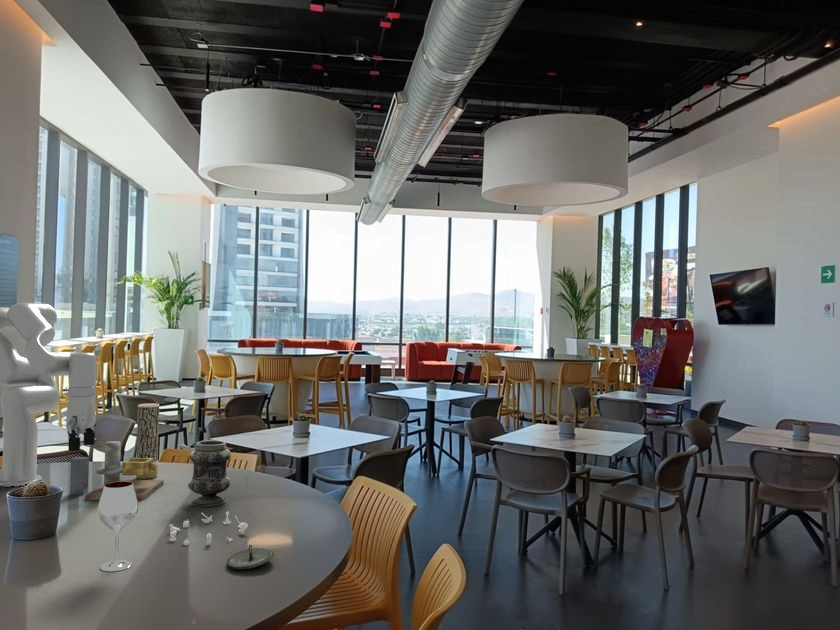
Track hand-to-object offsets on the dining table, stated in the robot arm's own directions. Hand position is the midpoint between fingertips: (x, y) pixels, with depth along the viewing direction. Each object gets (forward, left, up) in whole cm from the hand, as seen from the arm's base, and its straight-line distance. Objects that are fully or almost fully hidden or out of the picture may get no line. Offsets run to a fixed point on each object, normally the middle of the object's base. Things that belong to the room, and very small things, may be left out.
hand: (81, 447), depth 197 cm
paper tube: (+12, +21, -14) cm, 29 cm away
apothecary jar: (+41, -9, -15) cm, 45 cm away
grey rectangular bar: (-1, 0, -14) cm, 14 cm away
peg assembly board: (+13, +2, -14) cm, 19 cm away
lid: (+63, -58, -15) cm, 87 cm away
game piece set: (+48, -37, -15) cm, 63 cm away
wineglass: (+34, -59, -14) cm, 70 cm away
